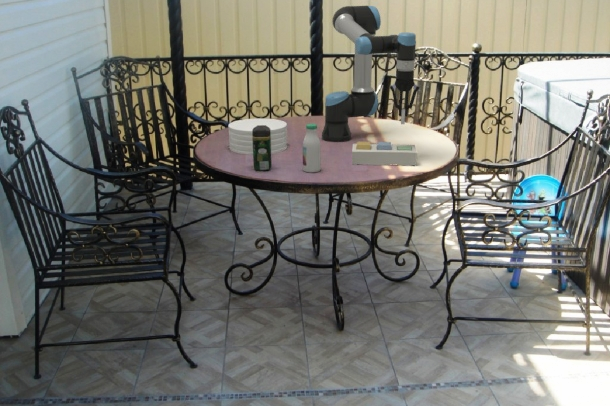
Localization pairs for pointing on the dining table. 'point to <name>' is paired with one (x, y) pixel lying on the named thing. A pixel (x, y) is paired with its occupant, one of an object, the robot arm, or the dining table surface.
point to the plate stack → (243, 135)
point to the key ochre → (364, 145)
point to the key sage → (404, 148)
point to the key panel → (384, 156)
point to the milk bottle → (311, 150)
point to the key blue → (383, 145)
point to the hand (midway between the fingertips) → (402, 123)
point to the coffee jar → (261, 148)
